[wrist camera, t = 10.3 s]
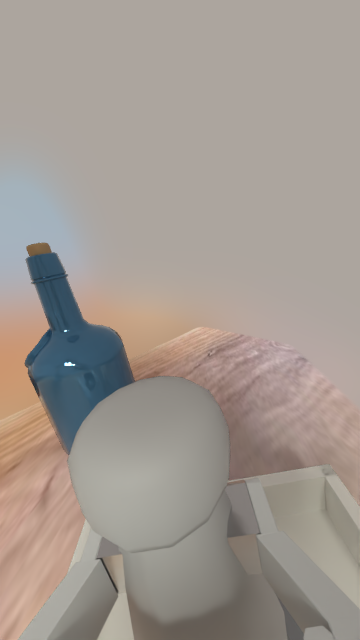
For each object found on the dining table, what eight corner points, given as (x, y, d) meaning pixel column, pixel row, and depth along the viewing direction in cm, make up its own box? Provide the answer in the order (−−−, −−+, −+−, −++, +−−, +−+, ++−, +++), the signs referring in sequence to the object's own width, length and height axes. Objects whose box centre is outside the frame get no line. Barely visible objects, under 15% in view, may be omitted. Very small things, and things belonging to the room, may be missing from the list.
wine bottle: (149, 397, 44) (101, 237, 35) (144, 455, 31) (68, 226, 23) (80, 413, 44) (14, 256, 35) (47, 479, 31) (-69, 256, 22)
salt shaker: (232, 539, 13) (188, 340, 10) (330, 702, 8) (316, 412, 5) (139, 616, 11) (37, 399, 8) (193, 897, 6) (-36, 651, 2)
